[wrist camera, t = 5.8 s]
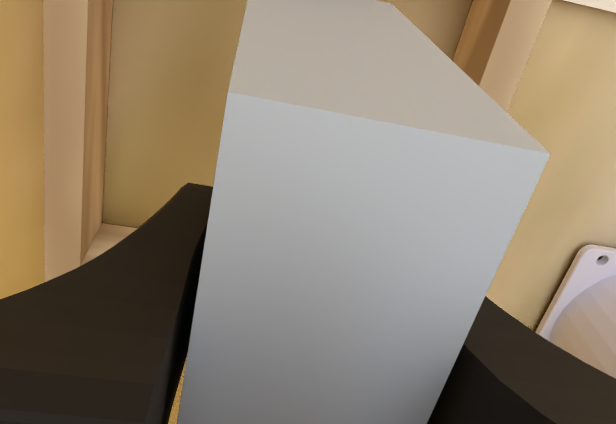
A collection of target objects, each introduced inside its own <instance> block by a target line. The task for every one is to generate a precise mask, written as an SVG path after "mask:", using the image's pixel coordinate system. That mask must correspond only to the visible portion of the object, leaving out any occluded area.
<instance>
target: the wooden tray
mask: <svg viewBox="0 0 616 424" xmlns="http://www.w3.org/2000/svg"><path fill="white" fill-rule="evenodd" d="M551 1H552V0H473V2H472V5H471V8H470V11H469V13H468V16H467V19H466V22H465V25H464V28H463V31H462V34H461V37H460V40H459V43H458V46H457V49H456V52H455V55H454V58H453V62H454V63H455V64H456V65H457V66H458V67H459V68H460V69H461V70H462V71H464V72H465V73H466V74H467V75H468V76H469V77H470V78H471V79H472V80H473V81H474V82H475V83H476V84H477V85H478V86H479V87H480V88H481V89H483V90H484V91H485V92H486V93H487V94H488V95H489V96H490V97H491V98H492V99H493V100H494V101H495V102H496V103H497V104H498V105H499V106H501V107H502V108H503V109H504V110H505V111H506V112H507V110H508V108H509V106H510V103H511V101H512V98H513V96H514V93H515V91H516V88H517V86H518V83H519V81H520V78H521V76H522V73H523V71H524V68H525V66H526V63H527V61H528V58H529V56H530V53H531V51H532V49H533V46H534V44H535V41H536V39H537V36H538V34H539V31H540V29H541V26H542V24H543V21H544V19H545V16H546V14H547V11H548V9H549V6H550V4H551ZM112 11H113V0H43V66H44V224H45V282H47V281H49V280H51V279H53V278H56V277H58V276H60V275H62V274H65V273H67V272H69V271H71V270H74V269H76V268H77V267H79V266H81V265H83V264H85V263H87V262H89V261H90V260H92V259H94V258H96V257H97V256H99V255H101V254H102V253H104V252H105V251H107V250H108V249H110V248H111V247H113V246H114V245H116V244H117V243H118V242H120V241H121V240H123V239H124V238H125V237H127V236H128V235H129V234H131V233H132V232H134V231H135V230H136V229H138V228H132V227H126V226H119V225H112V224H106V223H102V211H103V191H104V171H105V151H106V131H107V111H108V91H109V71H110V51H111V31H112Z"/></svg>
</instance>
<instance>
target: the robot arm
mask: <svg viewBox="0 0 616 424" xmlns="http://www.w3.org/2000/svg"><path fill="white" fill-rule="evenodd" d="M212 192H213V187H211V186H205V185H199V184H193V183H187V184H186V185H184V186H183V187H181V189H180V190H179V191H178V192H177V193H176V194H175V195H174V196H173V197H172V198H171V199H170V200H169V201H168V202H167V203H166V204H165V205H164V206H163V207H162V208H161V209H160V210H159V211H158V212H156V213H155V214H154V215H153V216H152V217H151V218H150V219H148V220H147V221H146V222H145V223H144V224H143V225H141V226H140V227H139V228H138V229H136V230H135V231H134V232H132V233H131V234H129V235H128V236H127V237H125V238H124V239H123V240H121V241H120V242H118V243H117V244H116V245H114V246H113V247H111V248H110V249H108V250H107V251H105V252H104V253H102V254H101V255H99V256H97V257H96V258H94V259H92V260H90V261H89V262H87V263H85V264H83V265H81V266H79V267H77V268H76V269H74V270H71V271H69V272H67V273H65V274H62V275H60V276H58V277H56V278H53V279H51V280H49V281H47V282H44V283H42V284H40V285H38V286H35V287H33V288H31V289H28V290H25V291H23V292H20V293H17V294H14V295H12V296H9V297H6V298H3V299H0V424H168V421H169V417H170V413H171V409H172V405H173V401H174V398H175V394H176V391H177V387H178V384H179V381H180V377H181V374H182V370H183V367H184V363H185V360H186V357H187V353H188V348H189V341H190V335H191V328H192V322H193V315H194V309H195V302H196V296H197V289H198V283H199V276H200V270H201V263H202V257H203V250H204V244H205V237H206V231H207V224H208V218H209V211H210V205H211V198H212ZM603 255H604V256H603ZM600 256H603V257H602V258H601V259H599V260H597V259H598V258H599V257H600ZM427 424H616V248H610V247H604V246H598V245H586V246H584V247H582V248H581V249H580V250H579V251H578V253H577V255H576V257H575V258H574V260H573V262H572V264H571V266H570V268H569V270H568V272H567V273H566V275H565V277H564V279H563V281H562V283H561V285H560V287H559V288H558V290H557V292H556V294H555V296H554V298H553V300H552V302H551V303H550V305H549V307H548V309H547V311H546V313H545V315H544V317H543V318H542V320H541V322H540V324H539V326H538V328H537V330H536V332H534V331H532V330H531V329H530V328H528V327H527V326H525V325H524V324H522V323H521V322H519V321H518V320H517V319H515V318H514V317H512V316H511V315H509V314H508V313H507V312H505V311H504V310H502V309H501V308H500V307H498V306H497V305H496V304H494V303H493V302H492V301H491V300H489V299H488V298H487V297H486V296H485V298H484V300H483V302H482V304H481V306H480V309H479V311H478V313H477V315H476V317H475V319H474V322H473V324H472V326H471V328H470V330H469V333H468V335H467V337H466V339H465V341H464V343H463V346H462V348H461V350H460V352H459V354H458V357H457V359H456V361H455V363H454V365H453V367H452V370H451V372H450V374H449V376H448V378H447V381H446V383H445V385H444V387H443V389H442V391H441V394H440V396H439V398H438V400H437V402H436V405H435V407H434V409H433V411H432V413H431V415H430V418H429V420H428V422H427Z"/></svg>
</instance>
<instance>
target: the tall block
mask: <svg viewBox="0 0 616 424" xmlns="http://www.w3.org/2000/svg"><path fill="white" fill-rule="evenodd" d="M549 156H550V153H549V152H548V151H547V150H546V149H545V148H544V147H543V146H542V145H541V144H540V143H539V142H538V141H536V140H535V139H534V138H533V137H532V136H531V135H530V134H529V133H528V132H527V131H526V130H525V129H524V128H523V127H522V126H521V125H520V124H518V123H517V122H516V121H515V120H514V119H513V118H512V117H511V116H510V115H509V114H508V113H507V112H506V111H505V110H504V109H503V108H502V107H501V106H499V105H498V104H497V103H496V102H495V101H494V100H493V99H492V98H491V97H490V96H489V95H488V94H487V93H486V92H485V91H484V90H483V89H481V88H480V87H479V86H478V85H477V84H476V83H475V82H474V81H473V80H472V79H471V78H470V77H469V76H468V75H467V74H466V73H465V72H464V71H462V70H461V69H460V68H459V67H458V66H457V65H456V64H455V63H454V62H453V61H452V60H451V59H450V58H449V57H448V56H447V55H446V54H444V53H443V52H442V51H441V50H440V49H439V48H438V47H437V46H436V45H435V44H434V43H433V42H432V41H431V40H430V39H429V38H428V37H426V36H425V35H424V34H423V33H422V32H421V31H420V30H419V29H418V28H417V27H416V26H415V25H414V24H413V23H412V22H411V21H410V20H409V19H407V18H406V17H405V16H404V15H403V14H402V13H401V12H400V11H399V10H398V9H397V8H396V7H395V6H394V5H393V4H391V3H387V2H382V1H378V0H247V5H246V10H245V14H244V19H243V24H242V28H241V33H240V38H239V42H238V47H237V52H236V56H235V61H234V66H233V70H232V75H231V80H230V84H229V89H228V94H227V101H226V107H225V114H224V120H223V127H222V133H221V140H220V146H219V153H218V159H217V166H216V172H215V179H214V185H213V192H212V198H211V205H210V211H209V218H208V224H207V231H206V237H205V244H204V250H203V257H202V263H201V270H200V276H199V283H198V289H197V296H196V302H195V309H194V315H193V322H192V328H191V335H190V341H189V348H188V354H187V361H186V367H185V374H184V380H183V387H182V393H181V400H180V406H179V413H178V419H177V424H427V422H428V420H429V418H430V415H431V413H432V411H433V409H434V407H435V405H436V402H437V400H438V398H439V396H440V394H441V391H442V389H443V387H444V385H445V383H446V381H447V378H448V376H449V374H450V372H451V370H452V367H453V365H454V363H455V361H456V359H457V357H458V354H459V352H460V350H461V348H462V346H463V343H464V341H465V339H466V337H467V335H468V333H469V330H470V328H471V326H472V324H473V322H474V319H475V317H476V315H477V313H478V311H479V309H480V306H481V304H482V302H483V300H484V298H485V296H486V293H487V291H488V289H489V287H490V285H491V282H492V280H493V278H494V276H495V274H496V272H497V269H498V267H499V265H500V263H501V261H502V258H503V256H504V254H505V252H506V250H507V248H508V245H509V243H510V241H511V239H512V237H513V234H514V232H515V230H516V228H517V226H518V224H519V221H520V219H521V217H522V215H523V213H524V210H525V208H526V206H527V204H528V202H529V200H530V197H531V195H532V193H533V191H534V189H535V187H536V184H537V182H538V180H539V178H540V176H541V173H542V171H543V169H544V167H545V165H546V163H547V160H548V158H549Z"/></svg>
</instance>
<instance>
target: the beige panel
mask: <svg viewBox="0 0 616 424" xmlns="http://www.w3.org/2000/svg"><path fill="white" fill-rule="evenodd" d="M565 1H569V2H573V3H577V4H581V5H586V6H590V7H594V8H598V9H602V10H607V11H611V12H615V13H616V0H565Z"/></svg>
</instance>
